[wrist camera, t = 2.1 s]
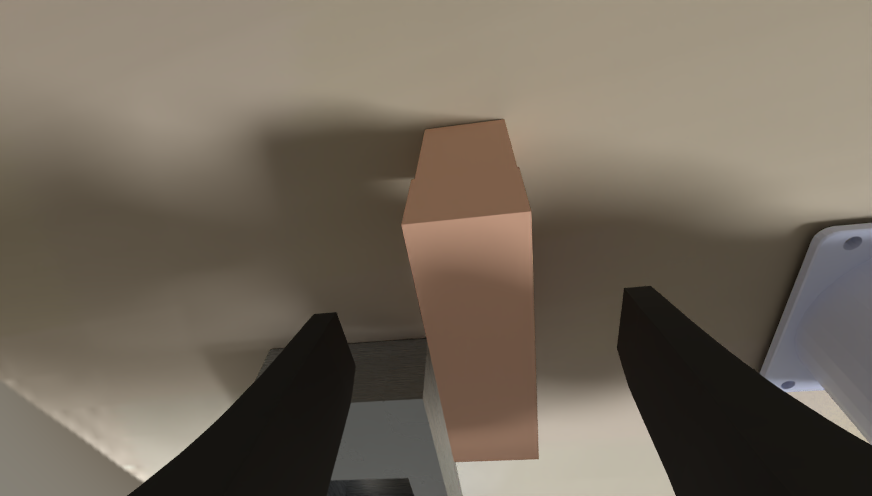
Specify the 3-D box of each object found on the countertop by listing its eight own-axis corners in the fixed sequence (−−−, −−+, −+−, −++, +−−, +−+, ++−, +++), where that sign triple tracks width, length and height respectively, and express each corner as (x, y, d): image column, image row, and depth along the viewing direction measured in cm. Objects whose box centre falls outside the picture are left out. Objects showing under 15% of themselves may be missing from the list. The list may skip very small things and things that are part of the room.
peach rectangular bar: (503, 112, 13) (531, 211, 8) (516, 313, 17) (538, 459, 12) (423, 123, 13) (401, 225, 8) (455, 318, 17) (454, 462, 12)
